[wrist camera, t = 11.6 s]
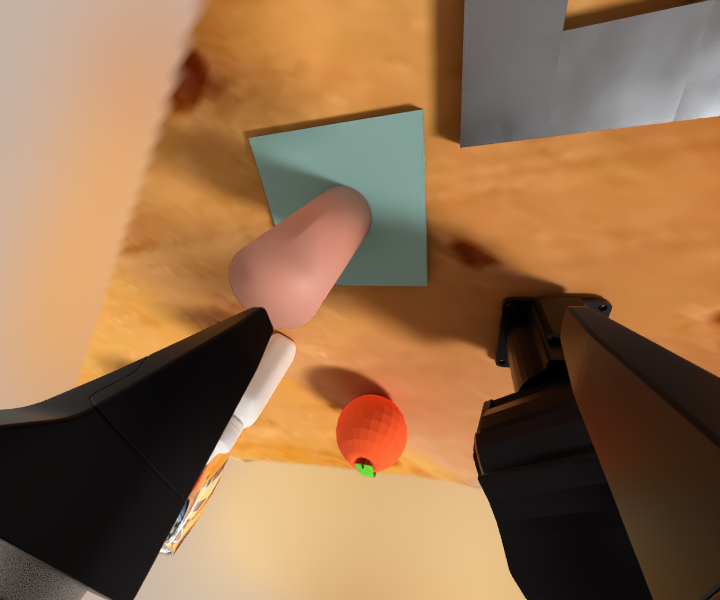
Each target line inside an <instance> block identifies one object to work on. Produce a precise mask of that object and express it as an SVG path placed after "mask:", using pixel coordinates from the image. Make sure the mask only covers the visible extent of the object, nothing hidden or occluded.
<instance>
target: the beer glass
mask: <svg viewBox="0 0 720 600" xmlns="http://www.w3.org/2000/svg"><path fill="white" fill-rule="evenodd" d="M249 427H250V426H249ZM249 427H248V428H249ZM248 428H245V429H243V431H242V433H241V434H240V436H239V437H238V439H237V441H236V442H235V444H234V445H233V447H232V449H231V450H230V452H229V453H226V454H220V453H219V454H217V455H216V456H215V457H214V458H213V459H212V460H211V461H210V462H209V464H208V465H206V466H205V468H204V470H203V471H202V473H201V475H200V477H199V479H198V481H197V483H196V484H195V486H194V488H193V490H192V492H191V494H190V496H189V497H188V499H187V501H186V502H185V505H184V507H183V509H182V511H181V513H180V515H179V517H178V518H177V520H176V522H175V524H174V526H173V528H172V530H171V531H170V533H169V535H168V537H167V539H166V541H165V543H164V545H163V546H162V548H161V550H160V552H159V553H160V554H163V555H166V556H173V555H174V554H175V552H176V551H177V549H178V548H179V546H180V545H181V543H182V542H183V540H184V539H185V538H186V536H187V535H188V533H189V532H190V530H191V529H192V527H193V526H194V525H195V523H196V521H197V520H198V518H199V517H200V515H201V514H202V512H203V511H204V509H205V507H206V505H207V504H208V502H209V500H210V498H211V496H212V495H213V492H214V490H215V488H216V486H217V484H218V482H219V480H220V477H221V475H222V473H223V471H224V468H225V466H226V463H227V461H228V459H229V457H230V454H231V452H232V450H233V448H234V447H235V445H236V443H237V442H238V440H239V439H240V438H241V436H242V435H243V434H244V433H245V432H246V431H247V429H248Z"/></svg>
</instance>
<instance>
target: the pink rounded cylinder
mask: <svg viewBox="0 0 720 600" xmlns="http://www.w3.org/2000/svg"><path fill="white" fill-rule="evenodd" d="M371 224H372V211H371V208H370V205H369V203H368V201H367V200H366V198H365V197H364V196H363V195H362V194H361V193H360V192H359V191H357V190H355V189H354V188H351V187H348V186H334V187H332V188H330V189H328V190H326V191H325V192H323V193H322V194H321V195H319V196H318V197H316V198H315V199H313V200H312V201H310V202H309V203H308V204H306V205H305V206H303V207H302V208H300V209H299V210H297V211H296V212H295V213H293V214H292V215H290V216H289V217H287V218H286V219H284V220H283V221H282V222H280V223H279V224H277V225H276V226H274V227H273V228H271V229H270V230H269V231H267V232H266V233H264V234H263V235H261V236H260V237H258V238H257V239H256V240H254V241H253V242H251V243H250V244H248V245H247V246H245V247H244V248H243V249H241V250H240V251H239V252H237V253H236V254H235V256H234V257H233V259H232V261H231V263H230V267H229V280H230V284H231V287H232V290H233V292H234V294H235V296H236V298H237V299H238V301H239V302H240V303H241V305H242V306H243V307H244V308H245V309H246V310H247V309H250V308H252V307H263V308H265V309H266V311H267V313H268V316H269V318H270V321H271V323H272V326H274V327H279V328H296V327H300V326H302V325H304V324H306V323H307V322H309V321H310V320H311V319H312V317H313V316H314V315H315V313H316V311H317V310H318V308H319V307H320V305H321V304H322V302H323V301H324V299H325V298H326V296H327V295H328V293H329V292H330V290H331V288H332V287H333V285H334V284H335V282H336V281H337V279H338V278H339V276H340V275H341V273H342V272H343V270H344V269H345V267H346V266H347V264H348V262H349V261H350V259H351V258H352V256H353V255H354V253H355V252H356V250H357V249H358V247H359V246H360V244H361V243H362V241H363V239H364V238H365V236H366V235H367V233H368V232H369V230H370V228H371Z"/></svg>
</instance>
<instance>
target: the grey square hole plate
mask: <svg viewBox="0 0 720 600" xmlns="http://www.w3.org/2000/svg"><path fill="white" fill-rule="evenodd" d="M567 3H568V0H464V22H463V55H462V89H461V122H460V148H462V147H470V146H478V145H486V144H495V143H503V142H511V141H519V140H527V139H535V138H543V137H551V136H559V135H568V134H576V133H584V132H592V131H600V130H608V129H616V128H624V127H632V126H641V125H649V124H657V123H665V122H673V121H681V120H689V119H697V118H706V117H714V116H720V0H694V1H693V4H689V5H684V6H680V7H675V8H670V9H665V10H661V11H656V12H651V13H647V14H642V15H637V16H632V17H628V18H623V19H618V20H613V21H609V22H604V23H599V24H594V25H590V26H585V27H580V28H575V29H571V30H566V31H563V27H564V21H565V15H566V9H567Z"/></svg>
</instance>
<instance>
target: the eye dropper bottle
mask: <svg viewBox="0 0 720 600" xmlns="http://www.w3.org/2000/svg"><path fill="white" fill-rule="evenodd" d="M295 352H296V346H295V343H294V342H293V341H292V340H290V339H288V338H287V337H285V336H283V335H281V334H279V333H276V334H274V335H272V336H271V338H270V340H269V343H268V345H267V347H266V350H265V352H264V355H263V357H262V359H261V362H260V364H259V366H258V369H257V371H256V373H255V375H254V376H253V378H252V380H251V382H250V384H249V386H248V388H247V390H246V391H245V393H244V395H243V397H242V399H241V401H240V403H239V404H238V406H237V408H236V410H235V412H234V414H233V416H232V417H231V419H230V421H229V423H228V425H227V427H226V429H225V430H224V432H223V434H222V436H221V438H220V440H219V442H218V443H217V445H216V447H215V449H214V451H213V453H212V455H211V457H210V458H209V460H208V462H207V464H206V465H208V464H209V462H210V461H211V460H212V459H213V458H214V457H215V456H216V455H217V454H219V453H220V454H226V453H229V452H230V450H231V449H232V447H233V445H234V444H235V442H236V441H237V439H238V437H239V436H240V434H241V433H242V431H243V429H245V428H248V427H249V426H251V425H252V424H253V423H254V422H255V421H256V420H257V418H258V417H259V415H260V413H261V412H262V410H263V409H264V407H265V405H266V404H267V402H268V400H269V399H270V397H271V395H272V394H273V392H274V391H275V389H276V387H277V386H278V384H279V382H280V381H281V379H282V377H283V376H284V374H285V373H286V371H287V369H288V368H289V366H290V364H291V363H292V361H293V359H294V356H295Z"/></svg>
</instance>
